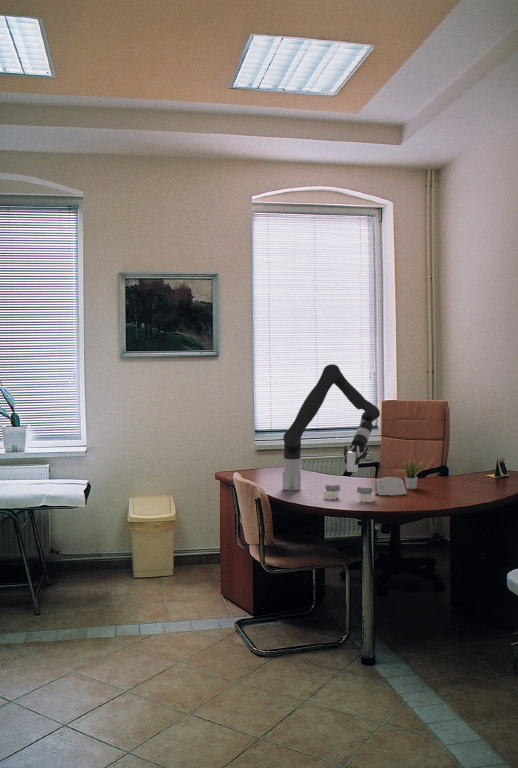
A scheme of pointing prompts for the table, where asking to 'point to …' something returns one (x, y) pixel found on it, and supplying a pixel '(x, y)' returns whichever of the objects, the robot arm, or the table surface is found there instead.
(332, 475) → the table surface
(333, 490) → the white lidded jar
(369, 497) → the white and grey block
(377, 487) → the grey rounded block
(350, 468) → the coupler
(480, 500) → the table surface
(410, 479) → the house plant
